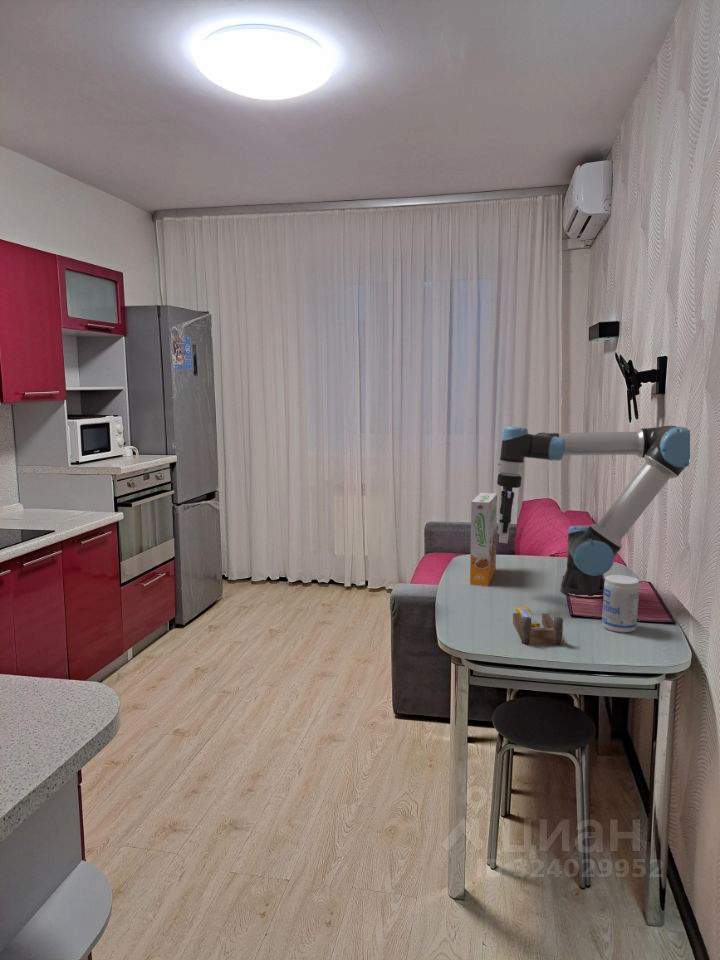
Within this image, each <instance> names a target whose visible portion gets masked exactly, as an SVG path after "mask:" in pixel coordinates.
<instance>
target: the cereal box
mask: <svg viewBox="0 0 720 960" xmlns="http://www.w3.org/2000/svg"><path fill="white" fill-rule="evenodd" d="M470 505H471V507H470V508H471V509H470V562H469V563H470V566H469V567H470V570H469V571H470V572H469V573H470V575H469V576H470V577H469V579H470V580H469V585H470V584H471V585H473V586H484V587H488V586H489V585H490V582H491V580H492V579H491V578H493V577H492V576H494V575H495V573H496V571H495V570H496V569H497V567H496V566H497V528H498V525H497V523H498V522H497V519H498V517H497V515H498V493H496V492H479V494H478V495H477V496H475V498H473V500H472V501H471V503H470ZM494 572H495V573H494ZM493 574H494V575H493Z"/></svg>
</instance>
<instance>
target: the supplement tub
mask: <svg viewBox="0 0 720 960" xmlns="http://www.w3.org/2000/svg"><path fill="white" fill-rule="evenodd" d="M604 578H605V583H604V596H603V597H602V598H603V600H602V612H601V613H602V615H601V625H602V627H603V628H605V629H606V630H609V631H611V632H617V633H631V632H634V631H636V629H637V624H638V623H637V622H638V614H639V613H638V611H639V600H640V599H639V597H640V596H639V595H640V580H639V579H638V578H636V577H633V576H630V575H624V574H623V575H622V574H612V575H609V574H608V575H607V576H604Z"/></svg>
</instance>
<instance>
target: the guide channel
mask: <svg viewBox="0 0 720 960" xmlns="http://www.w3.org/2000/svg"><path fill="white" fill-rule="evenodd" d="M512 624H513V626H514V629H515V630H516V632H517V634H518V637H519V638H520V641H521V644H522V645H547V646H549V645H551V646H552V645H553V646H554V645H555V646H556V645H557V646H561V645H562V646H563V634H564V633H563V630H564V629H563V627H564V626H563V625H564V618H563V617H560V616H559V617H558V616H556V617H553V618H552V616H551V615H550V613H541V625H542V626H543V627H531V618H530V617H523V618H522V616H521V614H520V613H518V612H514V613H513V614H512Z"/></svg>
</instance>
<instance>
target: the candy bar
mask: <svg viewBox="0 0 720 960" xmlns="http://www.w3.org/2000/svg"><path fill="white" fill-rule="evenodd" d="M514 608H515V610H516V613H520V614H521V616H522V618H523V617H530V618H531V628H540V627H541V623H540V622H537V620H536V619H535V618H534V616H533V615H532V613H531V612H530V608H529V606H515V607H514Z"/></svg>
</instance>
